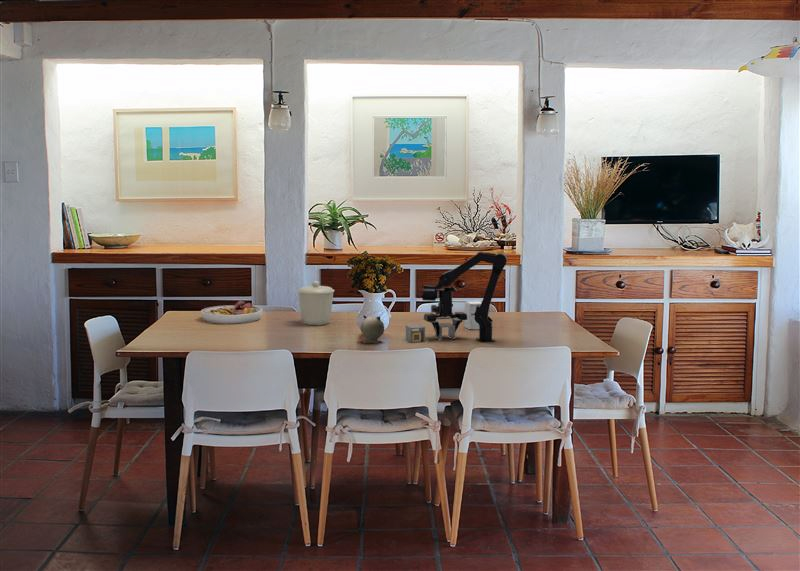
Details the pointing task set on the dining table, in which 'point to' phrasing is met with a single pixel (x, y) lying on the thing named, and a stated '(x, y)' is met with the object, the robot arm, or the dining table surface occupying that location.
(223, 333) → the dining table surface
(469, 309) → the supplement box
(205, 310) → the bowl
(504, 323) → the dining table surface
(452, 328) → the cover
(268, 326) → the dining table surface
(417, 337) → the letter cube
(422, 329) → the cover
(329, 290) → the canister
